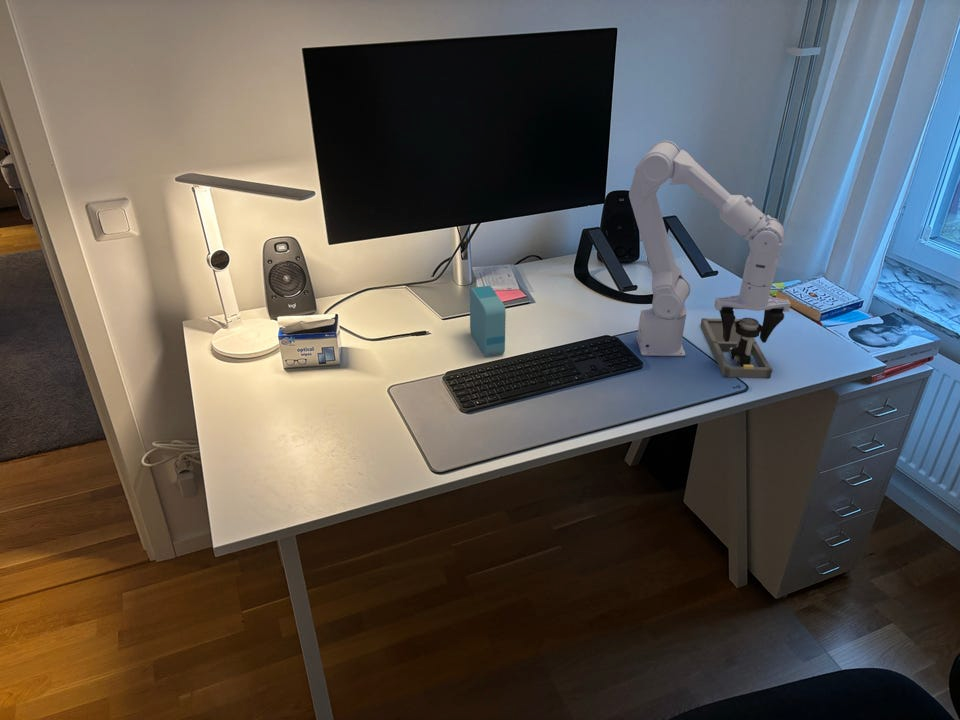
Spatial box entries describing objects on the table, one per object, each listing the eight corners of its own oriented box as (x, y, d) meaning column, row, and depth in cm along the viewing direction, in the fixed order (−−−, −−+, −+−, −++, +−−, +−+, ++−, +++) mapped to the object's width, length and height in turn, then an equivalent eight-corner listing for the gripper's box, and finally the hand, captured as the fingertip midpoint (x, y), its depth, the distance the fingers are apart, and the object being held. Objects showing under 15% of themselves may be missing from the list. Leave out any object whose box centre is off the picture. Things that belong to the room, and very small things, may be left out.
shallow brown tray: (723, 377, 151) (725, 366, 150) (700, 326, 170) (702, 316, 169) (770, 378, 151) (772, 367, 150) (741, 326, 170) (743, 316, 169)
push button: (719, 355, 159) (727, 314, 154) (740, 351, 160) (749, 311, 155) (737, 371, 153) (746, 329, 148) (759, 367, 155) (768, 325, 150)
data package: (505, 356, 159) (506, 306, 152) (485, 359, 158) (485, 309, 151) (488, 330, 168) (489, 282, 162) (469, 333, 167) (469, 285, 161)
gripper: (787, 272, 149) (773, 331, 156) (716, 271, 150) (704, 329, 157) (799, 288, 143) (783, 348, 150) (724, 286, 144) (712, 346, 151)
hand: (744, 339), depth 153 cm, fingers open, 7 cm apart
